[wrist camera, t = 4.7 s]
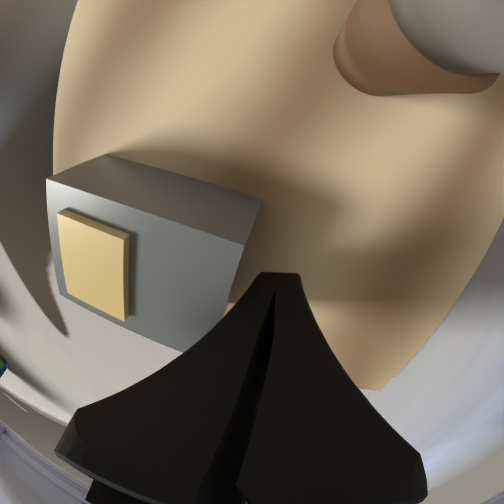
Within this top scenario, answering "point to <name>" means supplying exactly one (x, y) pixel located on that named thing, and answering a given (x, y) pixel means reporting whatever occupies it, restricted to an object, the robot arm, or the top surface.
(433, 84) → the grey-capped wooden dowel
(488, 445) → the top surface
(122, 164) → the block
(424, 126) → the plywood board
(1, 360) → the blue food package
